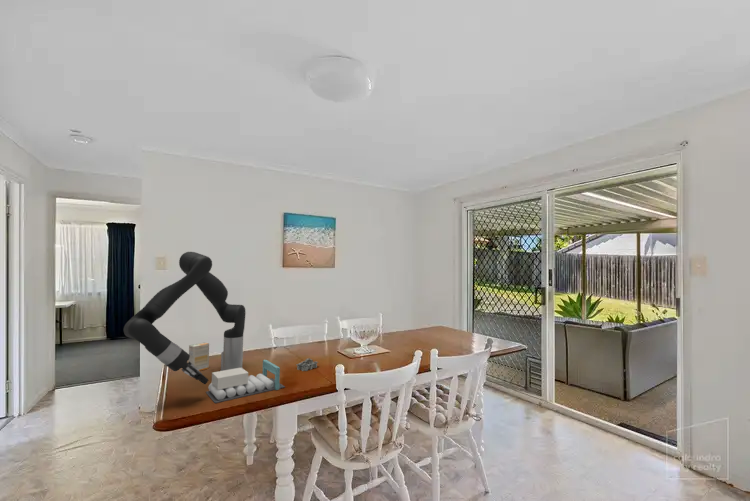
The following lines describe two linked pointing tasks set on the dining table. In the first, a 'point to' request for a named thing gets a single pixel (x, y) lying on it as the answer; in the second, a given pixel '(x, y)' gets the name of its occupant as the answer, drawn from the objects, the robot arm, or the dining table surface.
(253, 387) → the roller bed
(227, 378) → the slab
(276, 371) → the bar
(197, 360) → the supplement box
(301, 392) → the dining table surface
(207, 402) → the dining table surface
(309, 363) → the egg carton
